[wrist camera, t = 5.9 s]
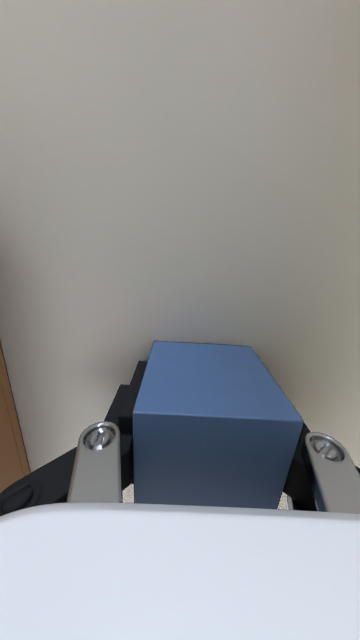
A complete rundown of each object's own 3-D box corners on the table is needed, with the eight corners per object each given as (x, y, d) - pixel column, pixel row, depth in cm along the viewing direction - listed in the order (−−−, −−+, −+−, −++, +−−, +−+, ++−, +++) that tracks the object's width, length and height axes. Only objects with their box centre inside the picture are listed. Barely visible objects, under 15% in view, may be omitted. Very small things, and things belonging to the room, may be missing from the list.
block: (153, 340, 11) (132, 412, 6) (250, 345, 11) (305, 421, 6) (152, 418, 12) (134, 523, 8) (236, 422, 12) (271, 529, 8)
